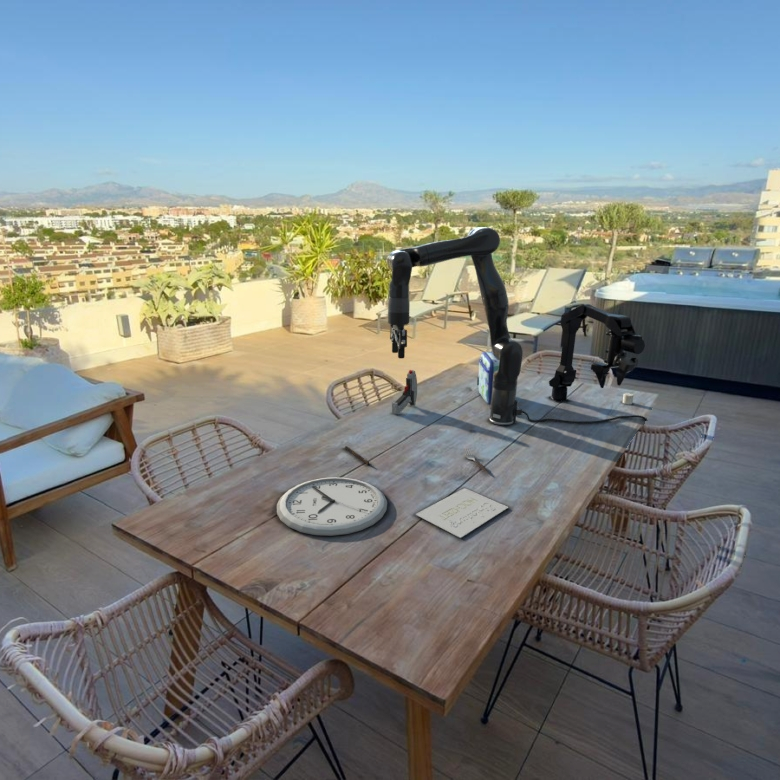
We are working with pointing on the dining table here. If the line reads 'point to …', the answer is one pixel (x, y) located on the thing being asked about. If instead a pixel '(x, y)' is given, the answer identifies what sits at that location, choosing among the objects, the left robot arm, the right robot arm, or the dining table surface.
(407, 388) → the toy gun
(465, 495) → the invitation card
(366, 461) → the brown thin stick
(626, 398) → the cream short cylinder
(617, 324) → the right robot arm
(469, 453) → the fork
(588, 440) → the dining table surface
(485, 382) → the lunch box
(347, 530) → the wall clock
